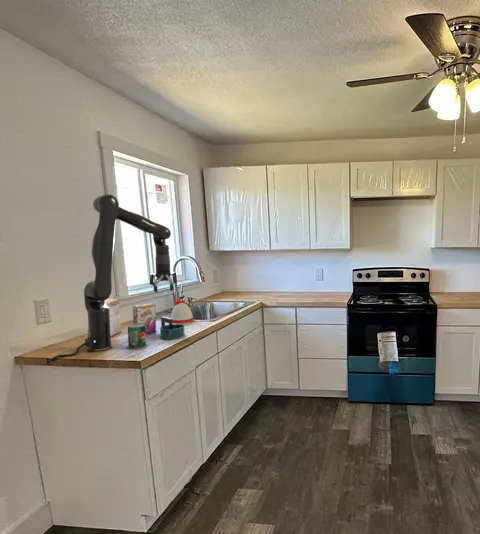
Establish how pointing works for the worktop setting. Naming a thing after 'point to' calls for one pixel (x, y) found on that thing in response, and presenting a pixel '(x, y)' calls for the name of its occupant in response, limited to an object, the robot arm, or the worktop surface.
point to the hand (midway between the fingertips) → (163, 291)
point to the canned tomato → (136, 336)
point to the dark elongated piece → (167, 320)
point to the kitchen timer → (181, 312)
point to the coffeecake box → (114, 315)
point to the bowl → (172, 331)
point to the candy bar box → (145, 316)
